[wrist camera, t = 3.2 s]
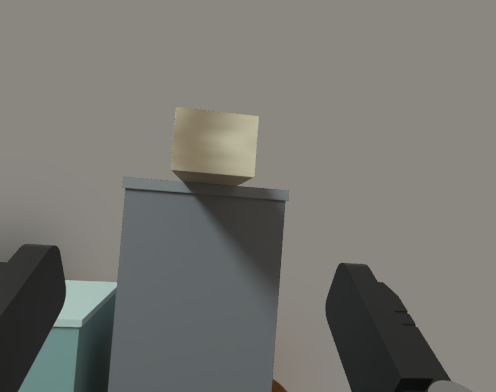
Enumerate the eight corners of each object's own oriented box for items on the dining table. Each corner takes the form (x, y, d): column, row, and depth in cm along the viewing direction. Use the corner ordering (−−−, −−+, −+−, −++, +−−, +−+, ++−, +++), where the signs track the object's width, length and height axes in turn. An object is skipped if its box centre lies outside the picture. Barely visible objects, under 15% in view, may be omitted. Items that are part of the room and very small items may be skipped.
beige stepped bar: (149, 168, 15) (157, 62, 16) (181, 187, 37) (184, 144, 37) (274, 178, 16) (281, 78, 16) (233, 192, 38) (237, 149, 38)
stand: (83, 633, 23) (122, 176, 24) (127, 475, 36) (152, 185, 37) (258, 618, 24) (289, 190, 25) (239, 472, 38) (260, 194, 39)
